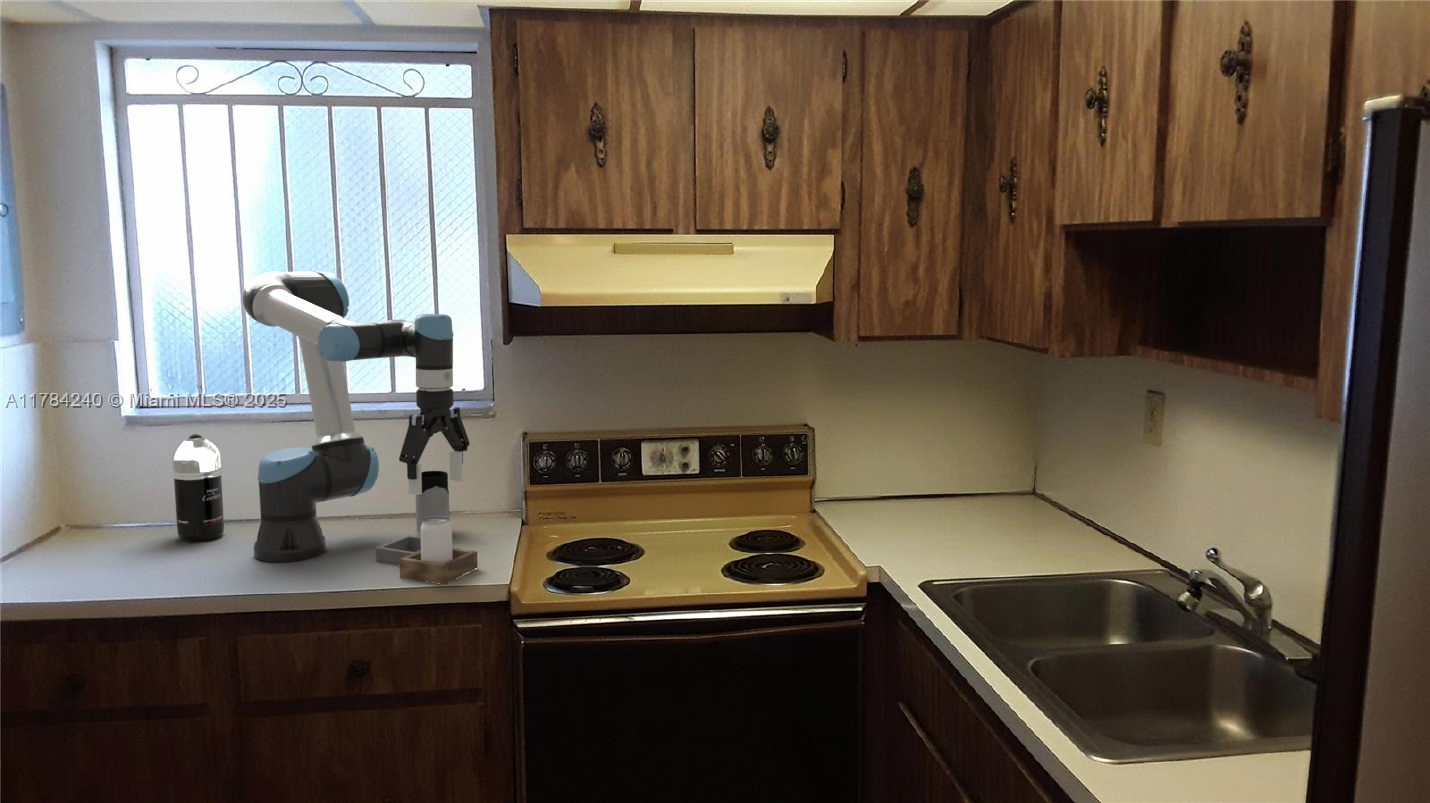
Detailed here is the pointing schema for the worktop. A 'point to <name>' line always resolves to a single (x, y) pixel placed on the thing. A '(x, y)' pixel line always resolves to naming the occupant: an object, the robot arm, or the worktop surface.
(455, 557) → the brown open square box
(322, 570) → the worktop surface
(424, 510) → the glass holder
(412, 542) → the grey square tray
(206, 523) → the spray bottle
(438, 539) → the can
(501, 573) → the worktop surface
